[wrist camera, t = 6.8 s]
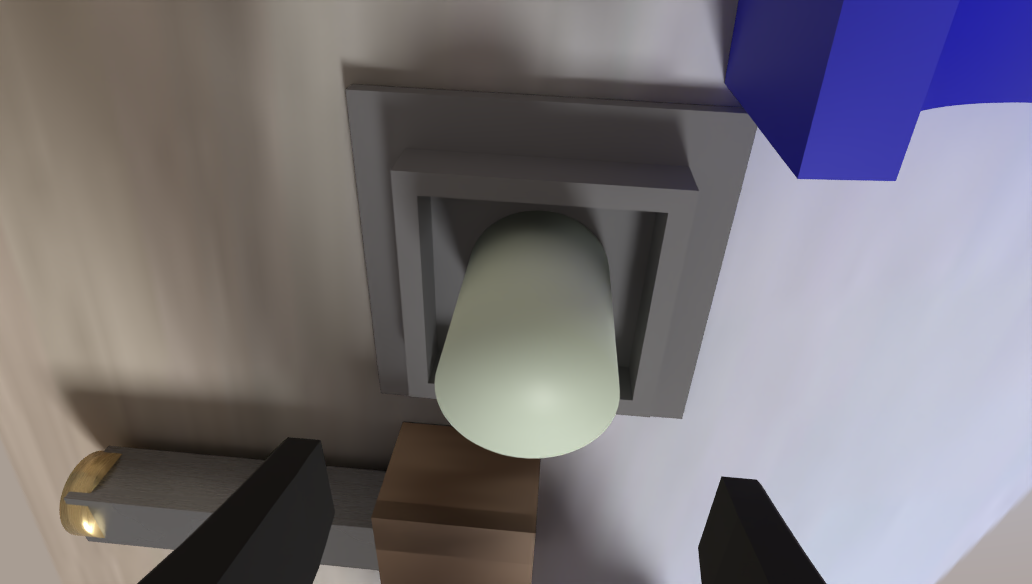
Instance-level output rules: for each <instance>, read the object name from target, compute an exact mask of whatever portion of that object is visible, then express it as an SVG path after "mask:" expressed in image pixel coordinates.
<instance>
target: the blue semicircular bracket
mask: <svg viewBox="0 0 1032 584" xmlns="http://www.w3.org/2000/svg"><path fill="white" fill-rule="evenodd" d="M725 85H726V86H727V87H728V89H729V90H730V91H731V92H732V94H733V95H734V96H735V98H736V99H737V100H738V102H739V103H740V104H741V106H742V107H743V108H744V109H745V111H746V112H747V113H748V115H749V116H750V117H751V119H752V120H753V121H754V123H755V124H756V125H757V126H758V128H759V129H760V130H761V132H762V133H763V134H764V136H765V137H766V138H767V140H768V141H769V142H770V143H771V145H772V146H773V147H774V149H775V150H776V151H777V153H778V154H779V155H780V157H781V158H782V159H783V160H784V162H785V163H786V164H787V166H788V167H789V168H790V170H791V171H792V172H793V174H794V175H795V176H796V177H797V179H827V180H873V181H896V179H897V176H898V173H899V170H900V168H901V165H902V162H903V159H904V156H905V153H906V151H907V148H908V145H909V142H910V139H911V136H912V134H913V131H914V128H915V125H916V122H917V120H918V117H919V114H920V111H923V110H927V109H932V108H938V107H945V106H952V105H963V104H976V103H1003V102H1028V103H1032V0H739V1H738V7H737V13H736V18H735V24H734V30H733V36H732V42H731V48H730V53H729V59H728V65H727V71H726V77H725Z"/></svg>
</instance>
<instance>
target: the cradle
mask: <svg viewBox="0 0 1032 584" xmlns="http://www.w3.org/2000/svg"><path fill="white" fill-rule="evenodd" d="M345 90H346V99H347V107H348V116H349V125H350V133H351V142H352V150H353V159H354V167H355V176H356V185H357V193H358V202H359V210H360V219H361V227H362V236H363V244H364V253H365V262H366V270H367V279H368V287H369V296H370V304H371V313H372V322H373V330H374V339H375V347H376V356H377V364H378V373H379V382H380V390H381V393H385V394H397V395H408V396H409V397H420V398H432V399H437V398H436V393H435V375H436V371H437V367H438V364H439V361H440V357H441V354H442V351H443V347H444V344H445V340H446V337H447V334H448V330H449V327H450V323H451V320H452V317H453V313H454V310H455V307H456V303H457V300H458V296H459V293H460V290H461V286H462V283H463V280H464V276H465V273H466V269H467V266H468V263H469V259H470V256H471V253H472V250H473V247H474V245H475V243H476V242H477V240H478V239H479V237H480V236H481V235H482V234H483V232H484V231H485V230H486V229H487V228H489V227H490V226H491V225H492V224H494V223H495V222H497V221H498V220H500V219H502V218H504V217H506V216H509V215H512V214H515V213H518V212H524V211H533V210H541V211H551V212H556V213H559V214H563V215H566V216H568V217H570V218H573V219H575V220H576V221H578V222H580V223H581V224H583V225H584V226H585V227H587V228H588V229H589V230H590V231H591V232H592V233H593V234H594V235H595V236H596V237H597V239H598V240H599V241H600V243H601V244H602V246H603V248H604V250H605V253H606V256H607V259H608V263H609V271H610V283H611V294H612V306H613V317H614V329H615V341H616V352H617V364H618V375H619V387H620V399H619V405H618V409H617V411H616V414H618V415H630V416H642V417H650V416H654V417H665V418H677V419H682V417H683V413H684V409H685V405H686V401H687V397H688V393H689V389H690V386H691V382H692V378H693V374H694V370H695V366H696V362H697V358H698V355H699V351H700V347H701V343H702V339H703V335H704V331H705V327H706V323H707V320H708V316H709V312H710V308H711V304H712V300H713V296H714V292H715V289H716V285H717V281H718V277H719V273H720V269H721V265H722V261H723V258H724V254H725V250H726V246H727V242H728V238H729V234H730V230H731V227H732V223H733V219H734V215H735V211H736V207H737V203H738V199H739V195H740V192H741V188H742V184H743V180H744V176H745V172H746V168H747V164H748V161H749V157H750V153H751V149H752V145H753V141H754V137H755V133H756V130H757V125H756V124H755V123H754V121H753V120H752V119H751V117H750V116H749V115H748V113H747V112H746V111H745V109H744V108H743V107H726V106H709V105H692V104H676V103H659V102H642V101H625V100H608V99H591V98H575V97H558V96H541V95H524V94H507V93H491V92H474V91H457V90H440V89H423V88H406V87H390V86H373V85H356V84H351V85H350V86H349V87H348V88H347V89H345Z"/></svg>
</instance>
